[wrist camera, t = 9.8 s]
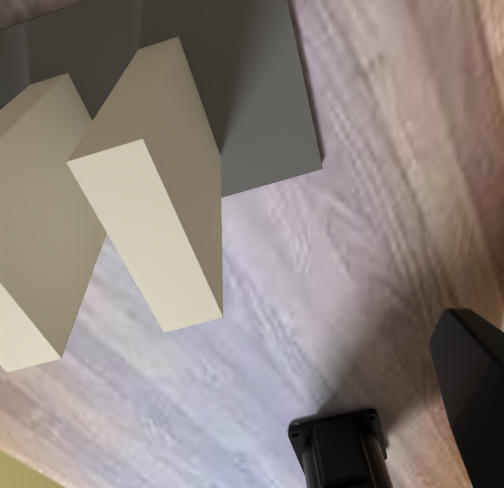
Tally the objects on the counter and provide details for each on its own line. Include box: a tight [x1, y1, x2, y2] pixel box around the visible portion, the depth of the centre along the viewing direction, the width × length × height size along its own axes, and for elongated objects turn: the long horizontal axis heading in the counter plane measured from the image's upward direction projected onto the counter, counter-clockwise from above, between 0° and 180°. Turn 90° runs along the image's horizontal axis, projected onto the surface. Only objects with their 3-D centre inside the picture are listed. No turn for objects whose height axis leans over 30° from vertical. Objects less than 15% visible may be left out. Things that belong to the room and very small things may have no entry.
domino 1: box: [0, 73, 107, 372], centre depth 15 cm, size 2×5×10 cm, turn 16°
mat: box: [0, 0, 323, 198], centre depth 19 cm, size 9×25×1 cm, turn 106°
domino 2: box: [66, 36, 223, 332], centre depth 14 cm, size 2×5×10 cm, turn 16°
